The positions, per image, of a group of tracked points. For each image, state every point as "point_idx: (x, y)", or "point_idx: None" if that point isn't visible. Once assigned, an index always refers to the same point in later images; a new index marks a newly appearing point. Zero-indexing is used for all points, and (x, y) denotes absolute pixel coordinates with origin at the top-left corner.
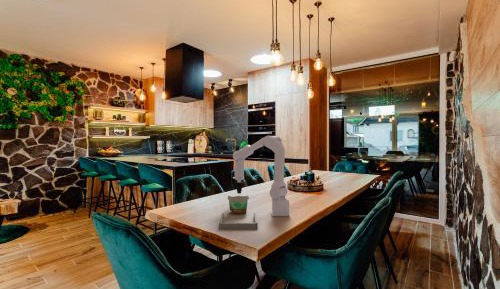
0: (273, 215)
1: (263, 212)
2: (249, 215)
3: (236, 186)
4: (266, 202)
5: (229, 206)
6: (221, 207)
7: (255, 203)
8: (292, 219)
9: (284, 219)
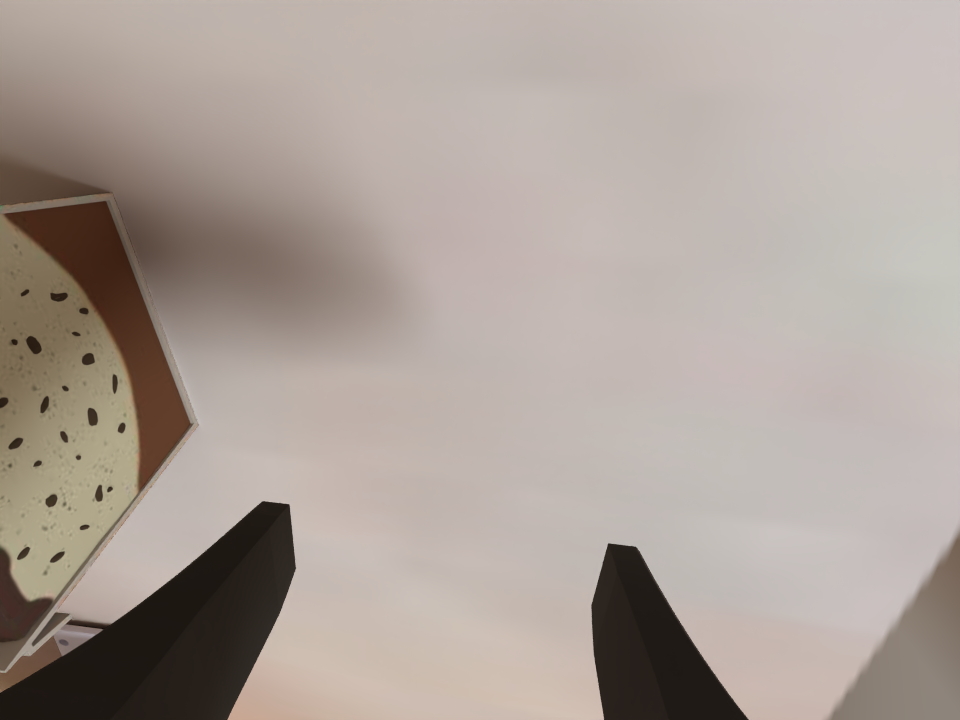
0: (57, 638)
1: None
2: None
3: (48, 674)
4: None
5: (19, 203)
6: (445, 21)
7: None
8: None
9: (8, 674)
